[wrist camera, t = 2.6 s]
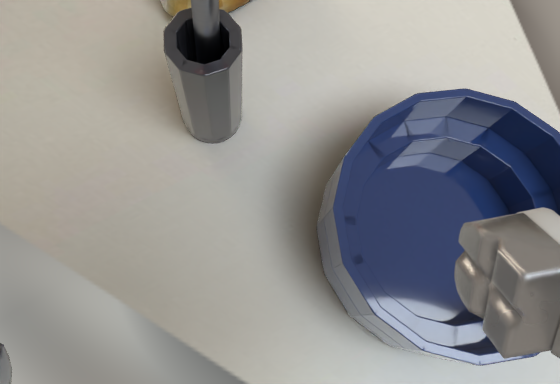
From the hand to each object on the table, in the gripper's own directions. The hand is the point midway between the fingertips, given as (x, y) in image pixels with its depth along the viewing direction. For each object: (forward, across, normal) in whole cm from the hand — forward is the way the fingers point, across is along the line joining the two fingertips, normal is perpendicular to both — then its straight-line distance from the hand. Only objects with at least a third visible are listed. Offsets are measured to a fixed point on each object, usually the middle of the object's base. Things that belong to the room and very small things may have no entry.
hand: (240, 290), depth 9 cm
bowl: (+16, -12, +13) cm, 24 cm away
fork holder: (+23, 0, +6) cm, 24 cm away
